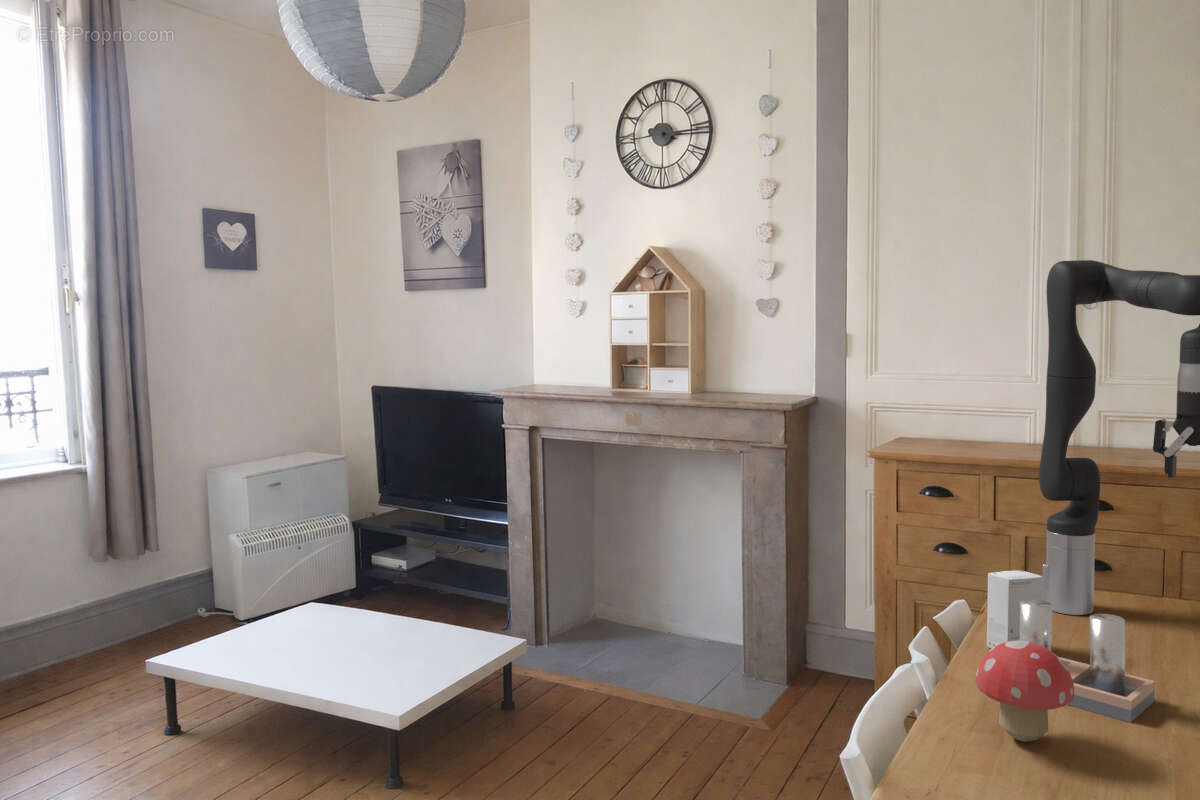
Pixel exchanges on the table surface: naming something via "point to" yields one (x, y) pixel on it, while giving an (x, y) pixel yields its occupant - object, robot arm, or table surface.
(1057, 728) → the table surface
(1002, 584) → the skincare box
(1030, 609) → the seated billet
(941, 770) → the table surface
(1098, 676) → the cylinder
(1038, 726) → the decorative mushroom
